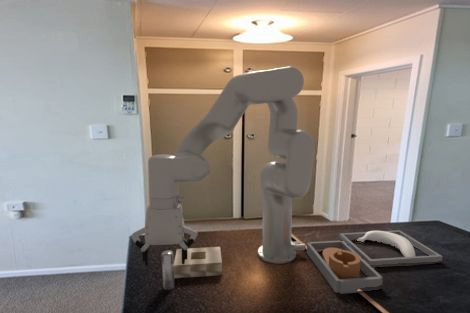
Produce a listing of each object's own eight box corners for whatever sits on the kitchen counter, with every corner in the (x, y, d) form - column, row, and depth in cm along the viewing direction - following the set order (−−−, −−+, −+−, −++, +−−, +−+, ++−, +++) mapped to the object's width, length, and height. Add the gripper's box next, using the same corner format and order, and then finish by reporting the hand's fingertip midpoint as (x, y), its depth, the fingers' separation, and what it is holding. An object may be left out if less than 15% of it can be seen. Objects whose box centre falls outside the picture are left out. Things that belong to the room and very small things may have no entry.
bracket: (362, 288, 78) (364, 265, 77) (331, 286, 79) (332, 263, 78) (345, 255, 96) (346, 236, 95) (320, 254, 97) (320, 235, 96)
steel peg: (175, 283, 81) (173, 250, 79) (173, 289, 78) (172, 255, 76) (164, 284, 81) (162, 250, 79) (162, 290, 78) (160, 256, 76)
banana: (426, 263, 90) (381, 265, 89) (389, 239, 108) (352, 241, 107) (427, 248, 89) (381, 250, 88) (390, 227, 108) (352, 228, 107)
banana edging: (399, 236, 110) (399, 230, 109) (441, 263, 90) (442, 256, 90) (339, 239, 107) (339, 233, 107) (369, 268, 87) (370, 261, 87)
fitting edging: (342, 249, 100) (342, 240, 99) (382, 290, 77) (383, 278, 76) (306, 251, 98) (306, 242, 98) (336, 294, 76) (337, 281, 75)
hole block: (220, 258, 95) (220, 246, 94) (222, 275, 85) (221, 262, 84) (177, 260, 93) (176, 249, 93) (174, 278, 83) (173, 265, 83)
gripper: (197, 197, 80) (197, 254, 82) (133, 198, 78) (136, 256, 81) (196, 205, 73) (197, 268, 75) (126, 206, 71) (129, 271, 73)
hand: (165, 262), depth 78 cm, fingers open, 9 cm apart
